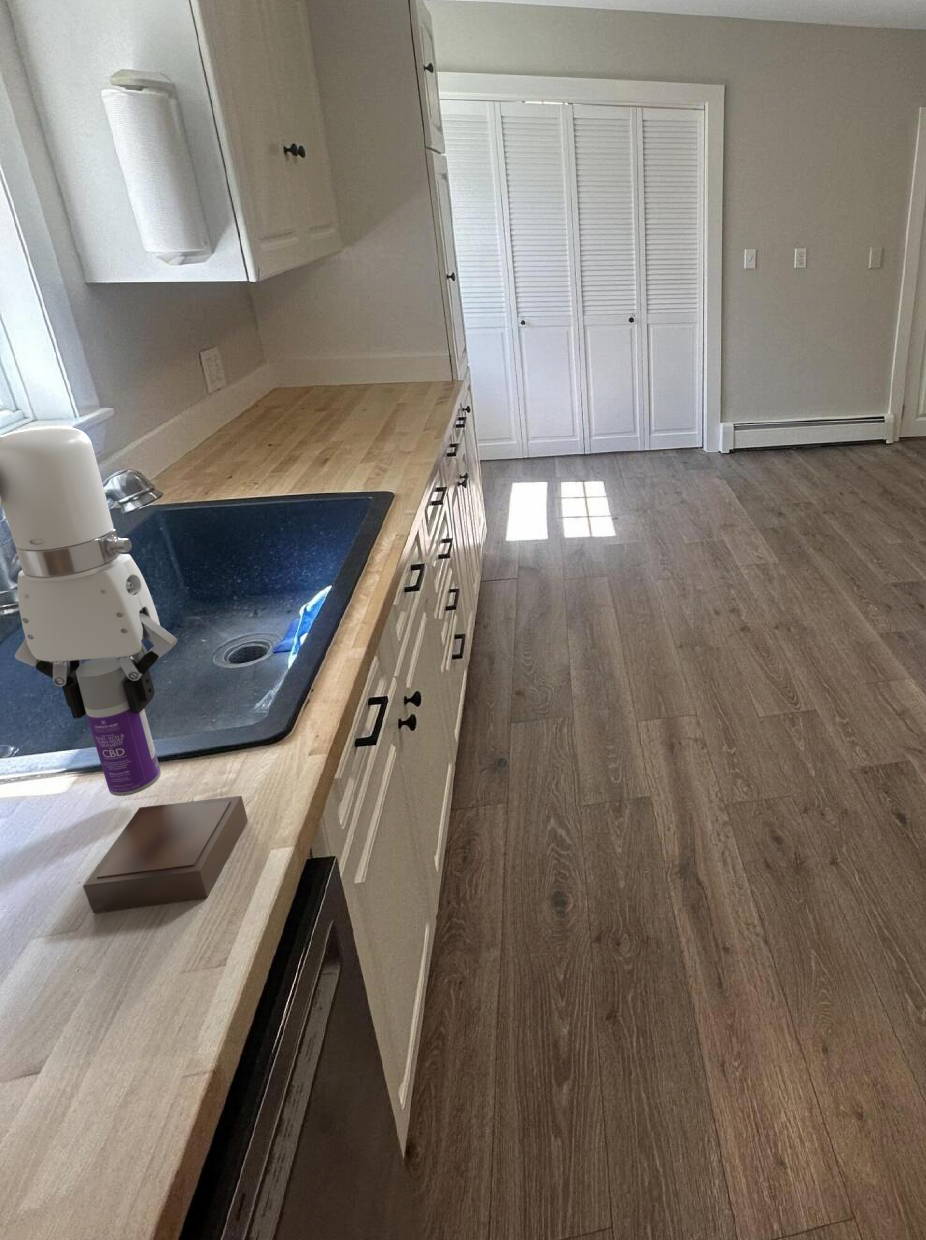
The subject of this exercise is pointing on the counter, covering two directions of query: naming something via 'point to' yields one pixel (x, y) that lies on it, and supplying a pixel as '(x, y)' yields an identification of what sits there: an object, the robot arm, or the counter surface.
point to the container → (117, 728)
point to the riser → (167, 854)
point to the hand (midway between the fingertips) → (114, 706)
